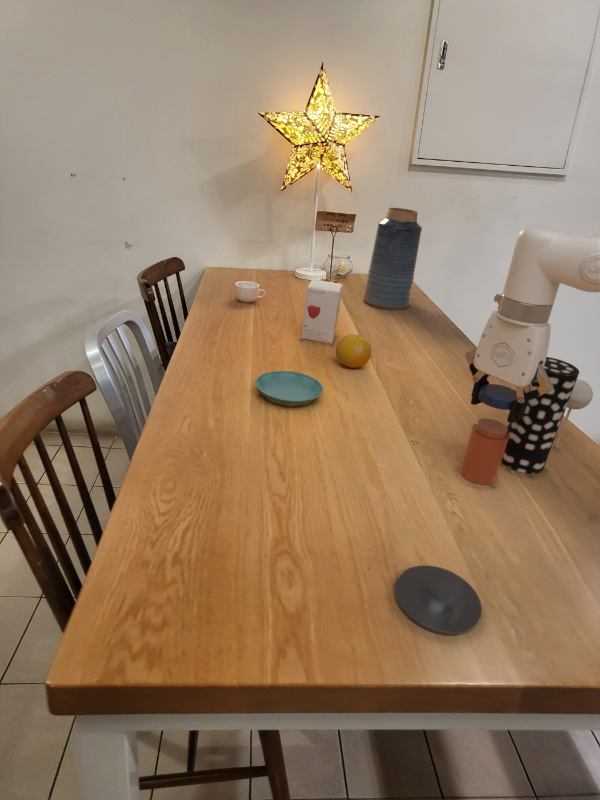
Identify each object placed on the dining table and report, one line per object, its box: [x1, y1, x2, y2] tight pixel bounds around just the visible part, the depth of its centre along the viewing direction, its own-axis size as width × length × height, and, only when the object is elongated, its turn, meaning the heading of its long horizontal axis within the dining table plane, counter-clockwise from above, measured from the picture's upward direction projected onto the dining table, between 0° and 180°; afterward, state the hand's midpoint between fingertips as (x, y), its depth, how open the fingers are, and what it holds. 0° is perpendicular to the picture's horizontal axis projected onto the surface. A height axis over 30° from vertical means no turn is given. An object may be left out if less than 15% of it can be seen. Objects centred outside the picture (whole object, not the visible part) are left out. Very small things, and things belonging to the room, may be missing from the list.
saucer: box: [254, 370, 324, 408], centre depth 117 cm, size 15×15×3 cm
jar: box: [459, 418, 510, 486], centre depth 95 cm, size 6×6×10 cm
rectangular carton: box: [300, 278, 344, 344], centre depth 150 cm, size 9×9×15 cm
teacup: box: [234, 280, 266, 304], centre depth 175 cm, size 10×8×5 cm
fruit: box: [335, 333, 372, 369], centre depth 135 cm, size 9×8×8 cm
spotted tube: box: [501, 356, 580, 475], centre depth 99 cm, size 8×8×20 cm
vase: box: [363, 207, 423, 311], centre depth 184 cm, size 16×16×32 cm
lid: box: [478, 383, 517, 411], centre depth 90 cm, size 6×6×2 cm
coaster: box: [394, 565, 483, 637], centre depth 69 cm, size 11×11×1 cm
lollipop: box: [554, 378, 594, 448], centre depth 106 cm, size 6×6×15 cm
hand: (495, 410), depth 92 cm, fingers closed on lid, 6 cm apart
